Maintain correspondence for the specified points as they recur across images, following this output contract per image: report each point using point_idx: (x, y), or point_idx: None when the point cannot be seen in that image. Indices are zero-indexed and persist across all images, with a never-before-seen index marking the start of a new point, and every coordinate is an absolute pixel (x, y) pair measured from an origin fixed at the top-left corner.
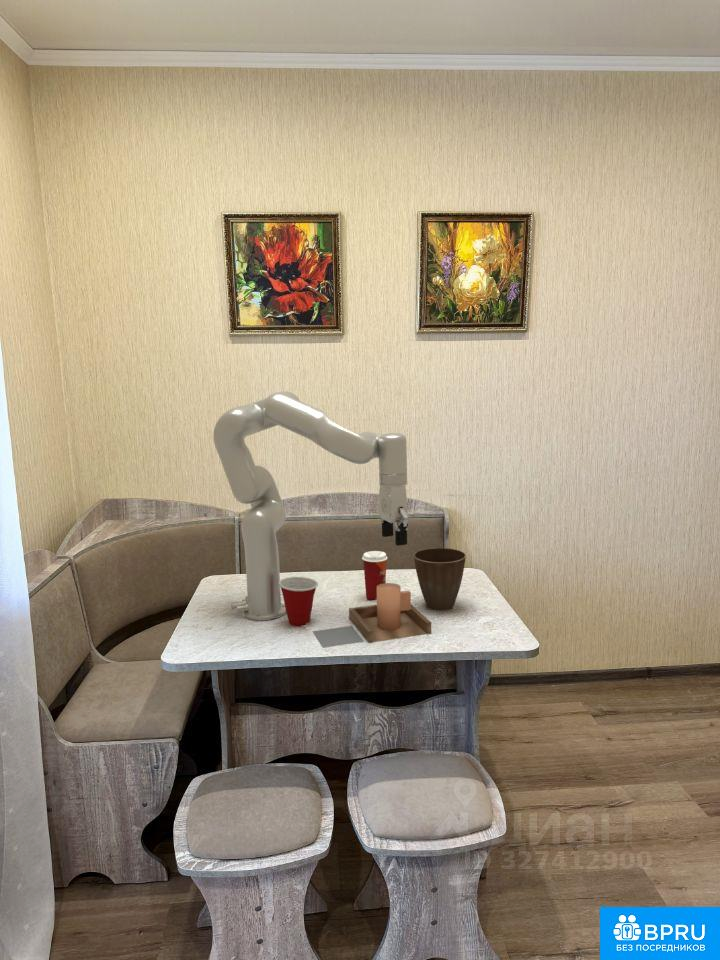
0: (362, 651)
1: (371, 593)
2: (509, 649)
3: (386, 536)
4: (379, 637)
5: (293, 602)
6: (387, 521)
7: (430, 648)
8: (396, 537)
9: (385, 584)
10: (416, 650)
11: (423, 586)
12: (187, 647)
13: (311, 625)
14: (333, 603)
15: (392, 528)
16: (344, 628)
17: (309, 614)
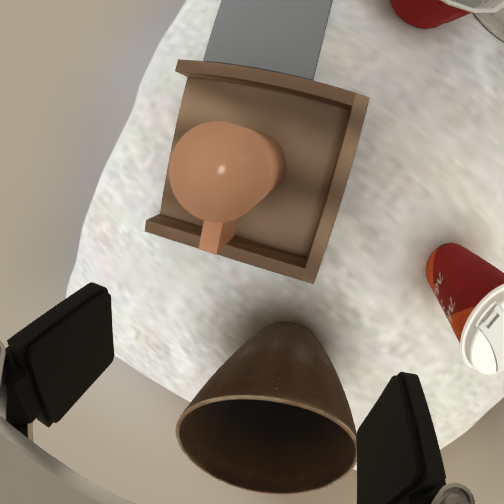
0: (174, 44)
1: (447, 252)
2: (70, 290)
3: (387, 394)
4: (201, 102)
5: None
6: (51, 461)
7: (113, 180)
8: (48, 313)
9: (248, 179)
10: (119, 149)
11: (279, 342)
12: None
13: (385, 15)
14: (487, 153)
15: (360, 478)
16: (305, 54)
17: (399, 4)
